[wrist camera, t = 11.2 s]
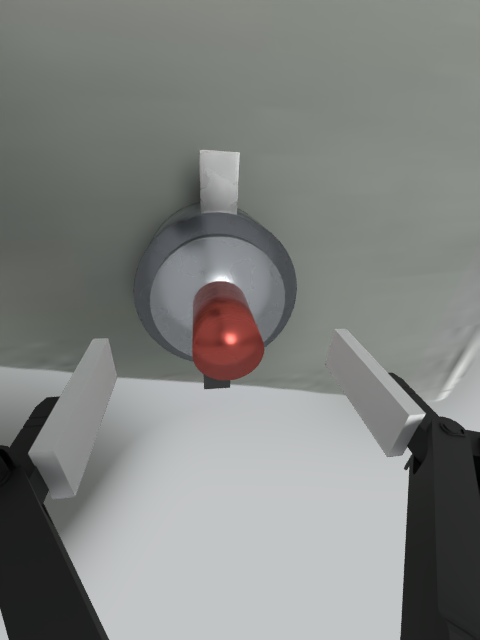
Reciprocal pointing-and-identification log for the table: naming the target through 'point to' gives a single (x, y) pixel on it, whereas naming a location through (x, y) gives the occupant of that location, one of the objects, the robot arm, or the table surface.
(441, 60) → the table surface
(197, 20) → the table surface
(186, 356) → the pot
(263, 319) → the lid
